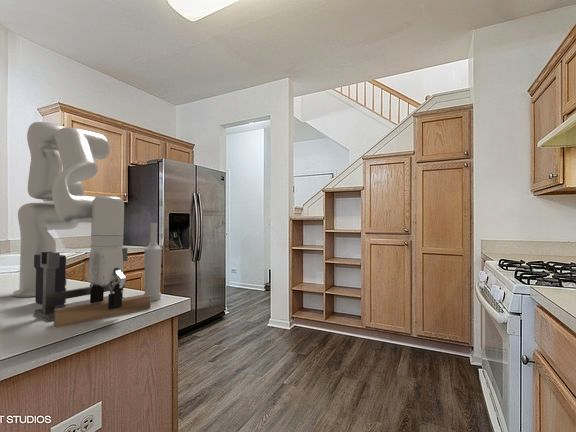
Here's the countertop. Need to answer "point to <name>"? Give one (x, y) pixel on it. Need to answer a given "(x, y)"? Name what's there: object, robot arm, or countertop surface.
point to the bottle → (153, 265)
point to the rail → (99, 310)
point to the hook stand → (50, 296)
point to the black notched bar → (59, 279)
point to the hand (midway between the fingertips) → (105, 305)
